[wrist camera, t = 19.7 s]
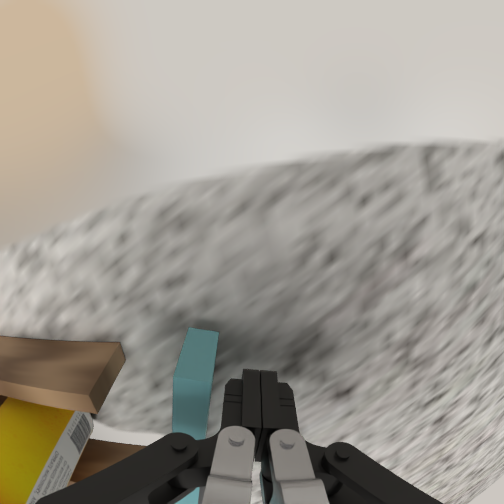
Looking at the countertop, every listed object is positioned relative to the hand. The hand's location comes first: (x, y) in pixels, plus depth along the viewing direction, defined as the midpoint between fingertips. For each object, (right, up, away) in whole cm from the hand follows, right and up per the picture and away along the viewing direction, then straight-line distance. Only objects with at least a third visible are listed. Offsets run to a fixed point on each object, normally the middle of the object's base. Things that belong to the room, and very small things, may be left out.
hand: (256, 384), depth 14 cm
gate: (-4, -5, +3) cm, 7 cm away
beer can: (-14, -4, +4) cm, 15 cm away
